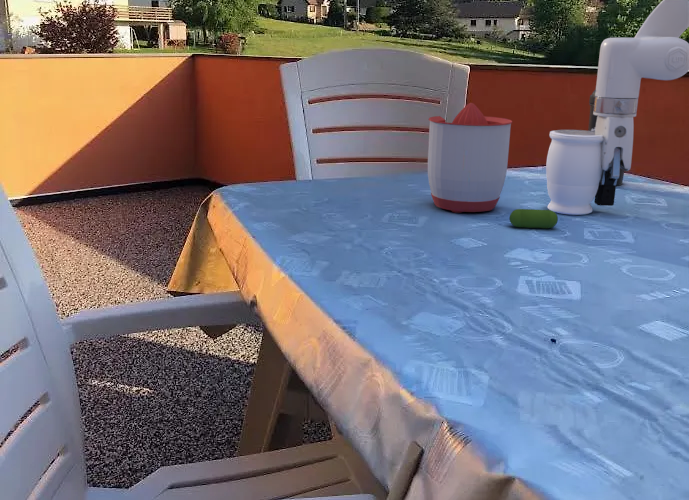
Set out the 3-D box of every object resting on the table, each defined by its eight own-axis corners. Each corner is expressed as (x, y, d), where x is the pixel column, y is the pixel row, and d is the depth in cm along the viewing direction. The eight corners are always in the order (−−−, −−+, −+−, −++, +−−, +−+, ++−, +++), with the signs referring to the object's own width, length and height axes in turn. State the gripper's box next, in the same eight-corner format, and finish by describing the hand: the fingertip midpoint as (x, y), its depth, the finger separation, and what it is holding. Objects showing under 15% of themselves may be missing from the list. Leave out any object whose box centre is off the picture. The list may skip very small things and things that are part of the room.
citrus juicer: (476, 195, 149) (483, 98, 143) (520, 214, 133) (530, 106, 128) (408, 198, 144) (412, 99, 139) (445, 218, 129) (452, 107, 123)
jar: (550, 202, 144) (557, 127, 140) (603, 208, 139) (612, 131, 134) (535, 212, 135) (542, 133, 131) (590, 219, 130) (600, 137, 126)
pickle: (554, 226, 125) (556, 208, 124) (558, 230, 122) (560, 212, 121) (507, 224, 126) (509, 206, 125) (510, 229, 123) (511, 211, 122)
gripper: (649, 111, 123) (636, 214, 128) (623, 104, 137) (612, 196, 143) (605, 110, 124) (594, 213, 129) (584, 103, 138) (574, 196, 143)
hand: (603, 204), depth 136 cm, fingers closed
